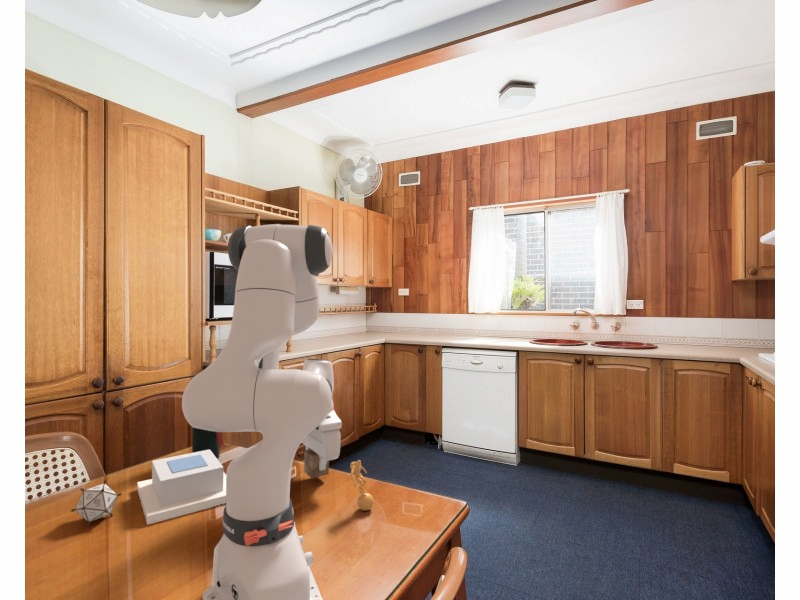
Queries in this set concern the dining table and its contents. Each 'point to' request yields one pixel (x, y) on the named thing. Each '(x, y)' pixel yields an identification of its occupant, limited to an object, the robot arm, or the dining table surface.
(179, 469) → the pedestal
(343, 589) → the dining table surface
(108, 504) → the game die
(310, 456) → the walnut block
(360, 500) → the figurine
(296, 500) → the dining table surface
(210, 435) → the wine bottle
